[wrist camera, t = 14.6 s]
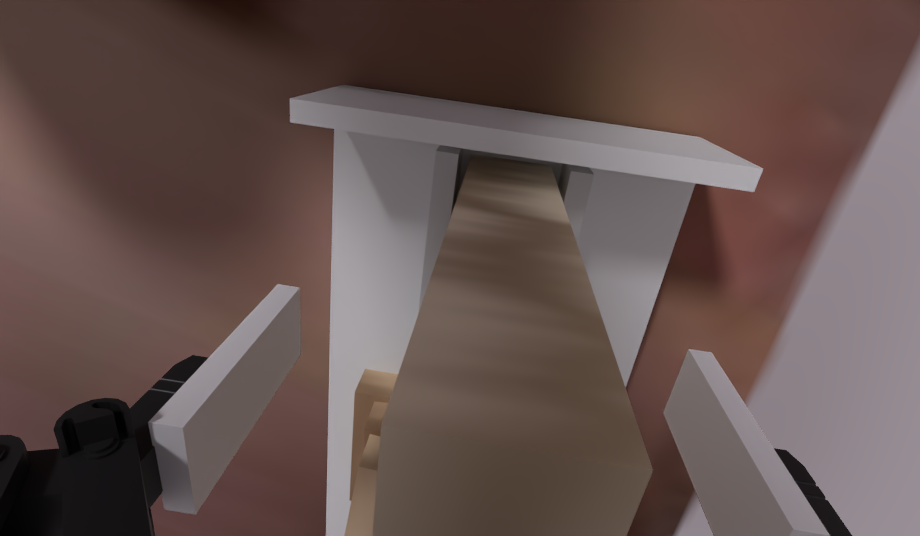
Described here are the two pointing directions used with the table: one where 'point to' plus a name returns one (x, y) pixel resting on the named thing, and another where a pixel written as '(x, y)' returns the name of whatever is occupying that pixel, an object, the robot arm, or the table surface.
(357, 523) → the offcut top
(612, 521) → the tan wooden block
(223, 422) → the robot arm
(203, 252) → the table surface
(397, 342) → the rack
